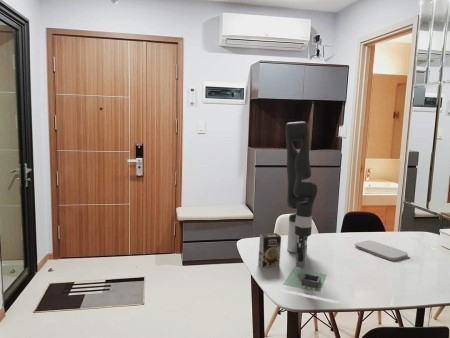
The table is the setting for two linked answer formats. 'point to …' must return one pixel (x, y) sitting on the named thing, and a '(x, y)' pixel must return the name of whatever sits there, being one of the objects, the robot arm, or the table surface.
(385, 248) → the tablet
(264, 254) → the coffee box
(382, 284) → the table surface
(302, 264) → the plug
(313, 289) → the board
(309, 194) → the robot arm
